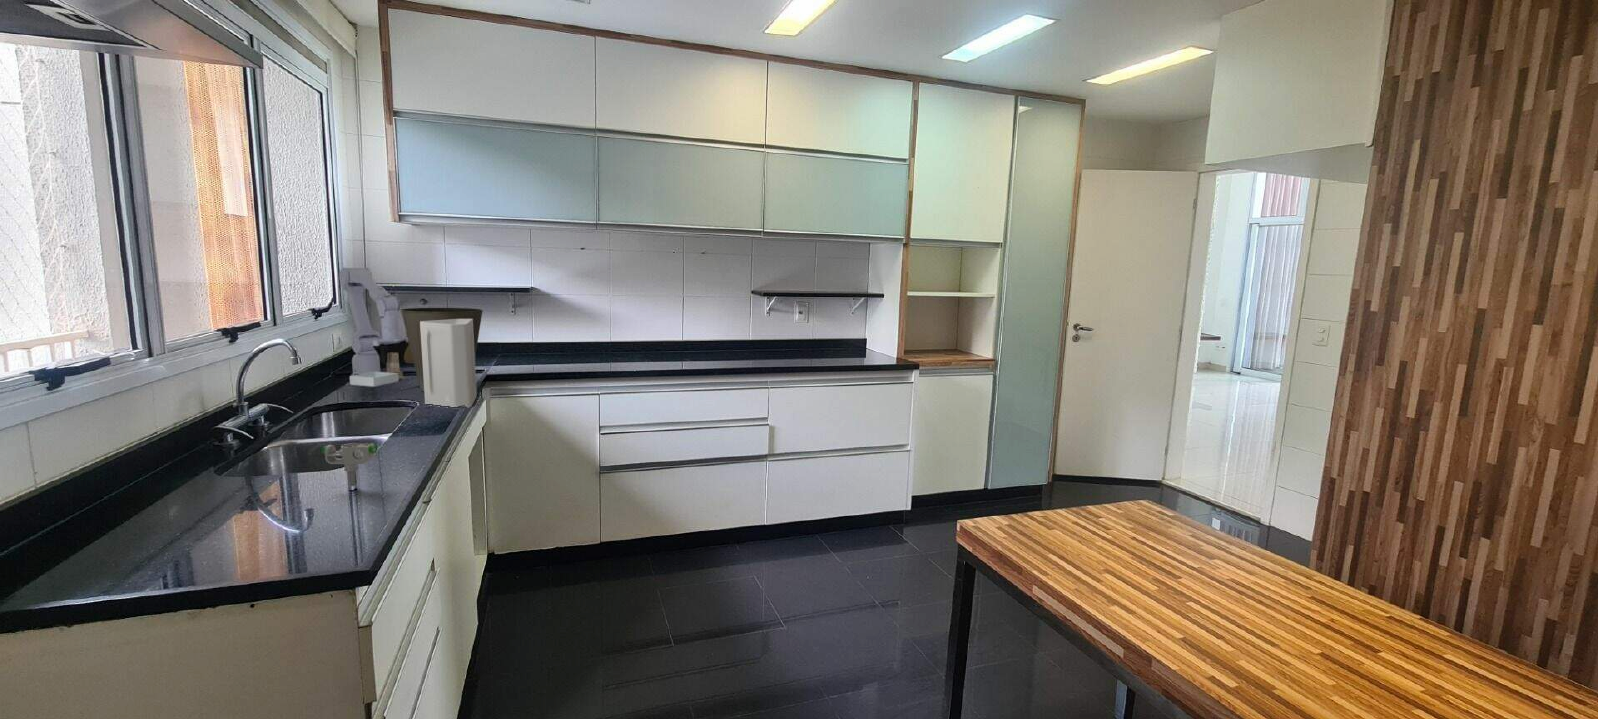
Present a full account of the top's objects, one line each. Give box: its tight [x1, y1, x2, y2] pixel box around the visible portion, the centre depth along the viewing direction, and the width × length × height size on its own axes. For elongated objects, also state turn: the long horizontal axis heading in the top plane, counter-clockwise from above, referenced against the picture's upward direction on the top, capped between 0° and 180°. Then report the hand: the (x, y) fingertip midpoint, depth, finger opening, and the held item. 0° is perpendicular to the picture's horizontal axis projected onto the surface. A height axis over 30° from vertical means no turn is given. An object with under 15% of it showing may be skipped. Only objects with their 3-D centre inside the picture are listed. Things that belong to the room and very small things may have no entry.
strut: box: [385, 352, 404, 378], centre depth 258 cm, size 4×4×10 cm
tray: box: [349, 371, 400, 388], centre depth 248 cm, size 11×11×4 cm
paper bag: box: [420, 319, 477, 409], centre depth 222 cm, size 19×15×28 cm
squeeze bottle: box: [403, 331, 414, 365], centre depth 297 cm, size 8×8×18 cm
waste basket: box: [400, 307, 484, 392], centre depth 243 cm, size 27×20×30 cm
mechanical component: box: [321, 442, 378, 486], centre depth 141 cm, size 3×10×10 cm, turn 95°
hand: (392, 361), depth 258 cm, fingers open, 7 cm apart
